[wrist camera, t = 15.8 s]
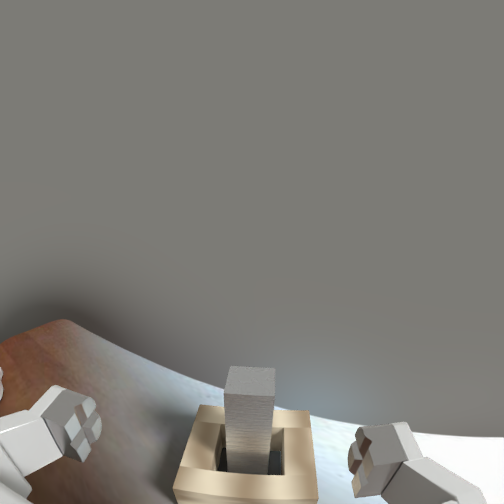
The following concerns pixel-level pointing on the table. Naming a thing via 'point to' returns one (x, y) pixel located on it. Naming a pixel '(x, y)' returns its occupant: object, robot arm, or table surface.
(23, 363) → the table surface
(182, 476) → the well block
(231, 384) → the steel post
